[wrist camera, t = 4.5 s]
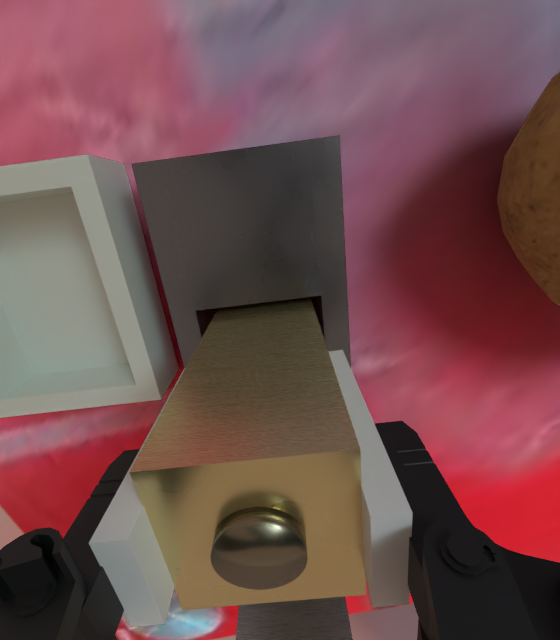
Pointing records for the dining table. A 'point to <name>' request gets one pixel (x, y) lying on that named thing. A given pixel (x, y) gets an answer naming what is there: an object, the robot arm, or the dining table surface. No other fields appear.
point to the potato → (535, 192)
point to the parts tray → (77, 291)
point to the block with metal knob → (256, 466)
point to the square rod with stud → (295, 620)
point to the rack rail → (249, 233)
